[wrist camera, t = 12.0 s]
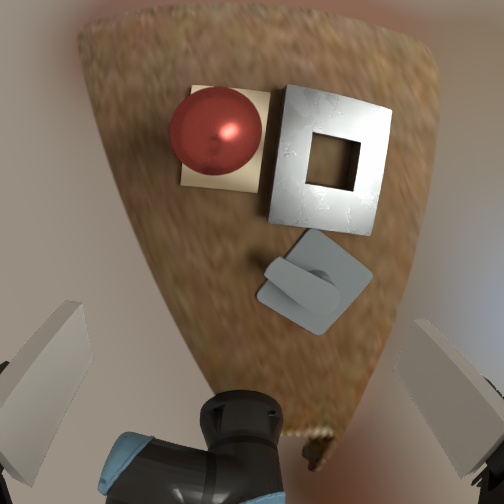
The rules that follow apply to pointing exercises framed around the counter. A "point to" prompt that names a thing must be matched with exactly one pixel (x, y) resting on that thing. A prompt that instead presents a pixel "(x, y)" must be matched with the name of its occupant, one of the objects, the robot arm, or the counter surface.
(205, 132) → the red mushroom button
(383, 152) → the eye plate
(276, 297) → the shower valve
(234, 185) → the birch pad
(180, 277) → the counter surface
